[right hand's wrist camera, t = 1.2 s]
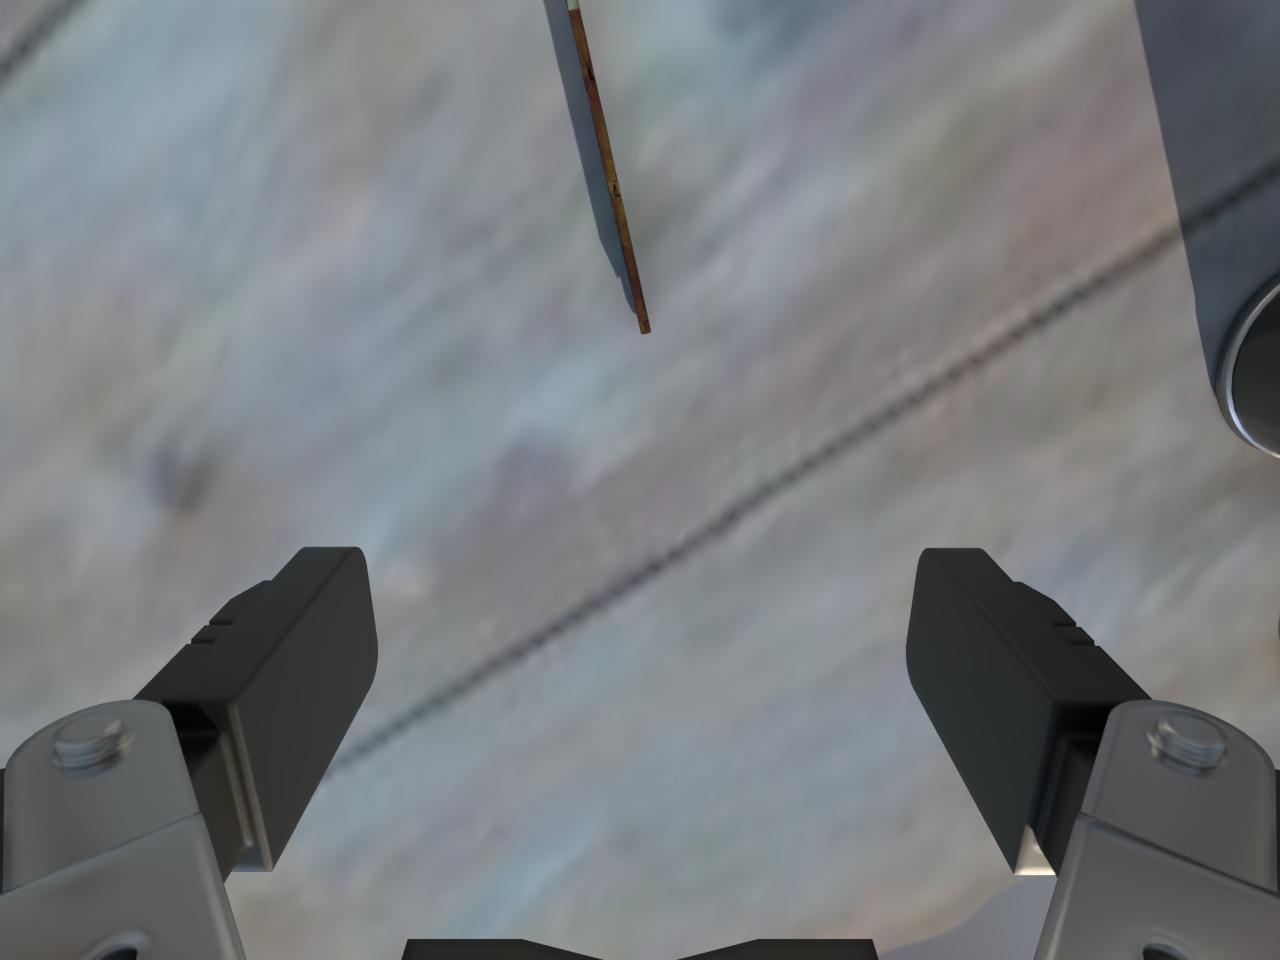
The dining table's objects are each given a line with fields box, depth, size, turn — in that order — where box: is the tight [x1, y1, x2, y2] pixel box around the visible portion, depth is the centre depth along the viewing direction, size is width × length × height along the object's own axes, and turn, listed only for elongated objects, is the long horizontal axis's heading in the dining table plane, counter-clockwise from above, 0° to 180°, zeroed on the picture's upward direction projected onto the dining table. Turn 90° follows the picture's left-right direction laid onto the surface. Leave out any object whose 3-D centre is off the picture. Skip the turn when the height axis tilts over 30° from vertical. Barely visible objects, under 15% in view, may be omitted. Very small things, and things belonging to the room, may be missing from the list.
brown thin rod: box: [566, 0, 651, 334], centre depth 31 cm, size 15×1×1 cm, turn 13°
